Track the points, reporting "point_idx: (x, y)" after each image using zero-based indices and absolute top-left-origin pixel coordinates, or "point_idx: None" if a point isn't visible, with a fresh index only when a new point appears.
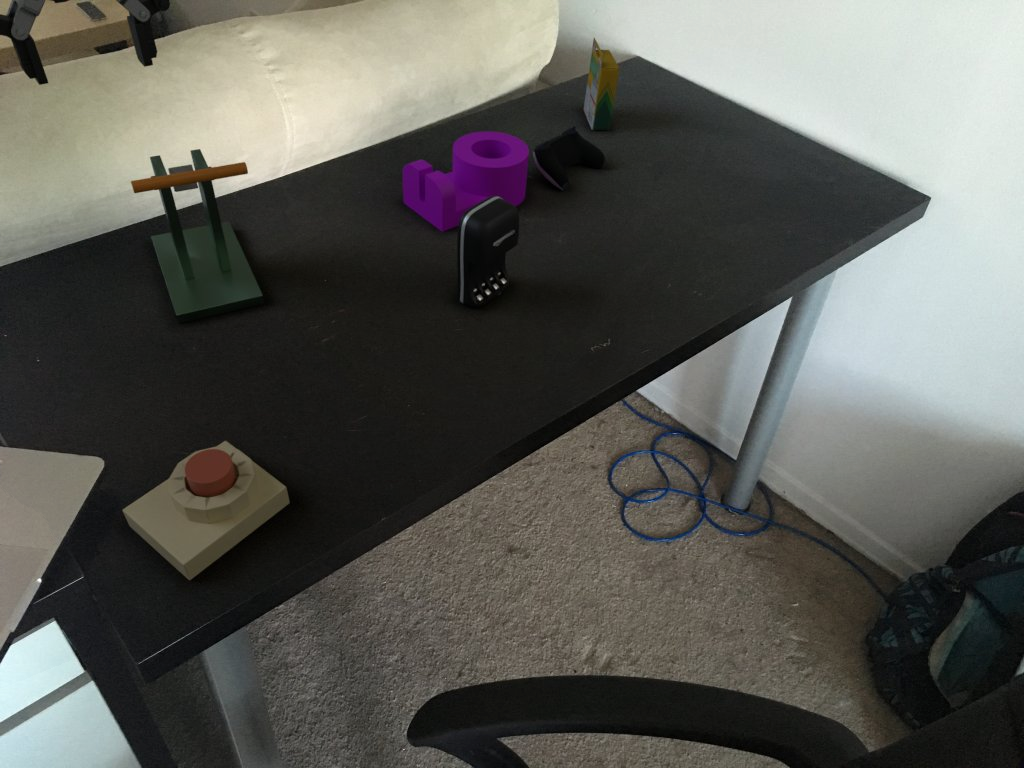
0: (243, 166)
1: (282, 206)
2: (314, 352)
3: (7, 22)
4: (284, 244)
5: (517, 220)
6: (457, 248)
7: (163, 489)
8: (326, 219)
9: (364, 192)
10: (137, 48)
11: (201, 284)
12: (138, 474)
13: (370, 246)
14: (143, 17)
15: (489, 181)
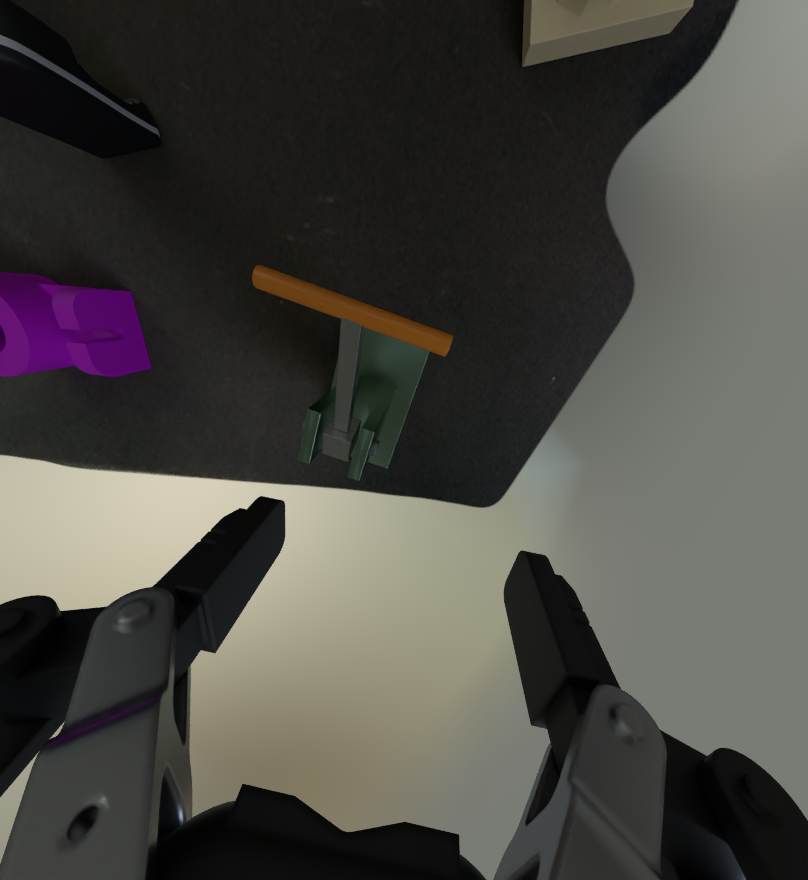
0: (260, 268)
1: (264, 442)
2: (350, 186)
3: (666, 795)
4: (289, 387)
5: None
6: (78, 95)
7: (638, 3)
8: (235, 396)
9: (183, 411)
10: (265, 551)
11: (388, 370)
12: (604, 125)
13: (214, 323)
14: (144, 600)
15: (16, 287)
